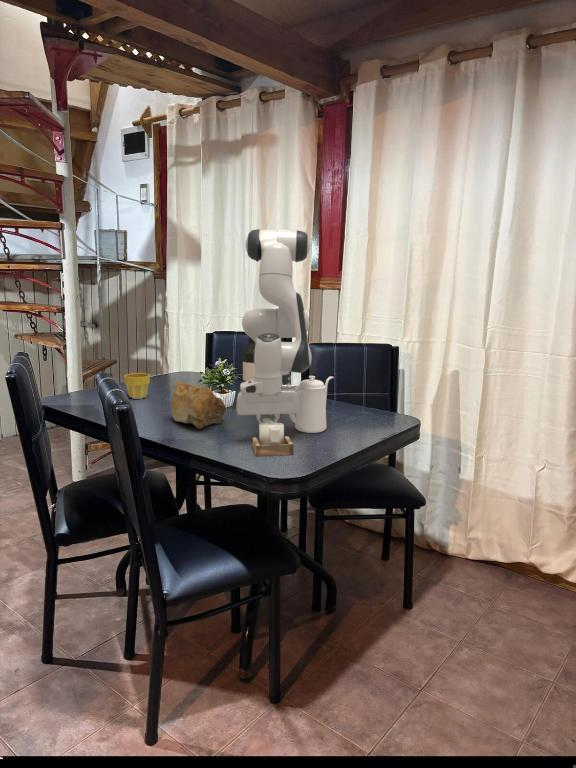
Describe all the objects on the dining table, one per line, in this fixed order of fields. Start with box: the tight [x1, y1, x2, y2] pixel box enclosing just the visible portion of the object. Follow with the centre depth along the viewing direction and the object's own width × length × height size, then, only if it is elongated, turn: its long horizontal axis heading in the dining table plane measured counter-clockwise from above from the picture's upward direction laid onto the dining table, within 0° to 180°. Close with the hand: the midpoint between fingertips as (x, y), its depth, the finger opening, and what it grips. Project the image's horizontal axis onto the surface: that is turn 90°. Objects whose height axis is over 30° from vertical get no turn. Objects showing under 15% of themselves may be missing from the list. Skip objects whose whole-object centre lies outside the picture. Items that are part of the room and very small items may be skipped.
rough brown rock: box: [171, 381, 227, 430], centre depth 203 cm, size 23×17×15 cm
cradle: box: [252, 435, 295, 457], centre depth 175 cm, size 9×11×3 cm
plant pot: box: [123, 372, 151, 398], centre depth 239 cm, size 10×10×10 cm
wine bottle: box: [242, 335, 256, 383], centre depth 259 cm, size 8×8×30 cm
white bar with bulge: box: [258, 417, 285, 445], centre depth 179 cm, size 8×17×7 cm, turn 11°
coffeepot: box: [288, 375, 335, 434], centre depth 197 cm, size 11×25×19 cm, turn 141°
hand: (267, 427), depth 185 cm, fingers closed on white bar with bulge, 2 cm apart
